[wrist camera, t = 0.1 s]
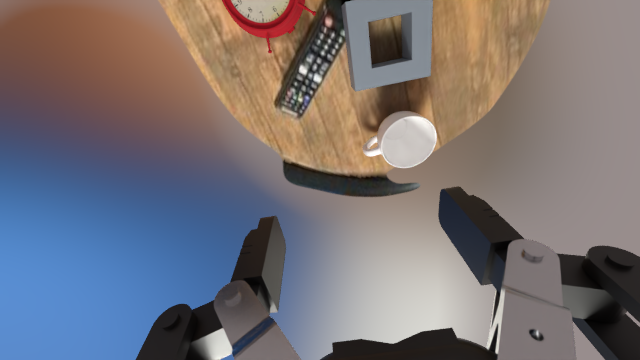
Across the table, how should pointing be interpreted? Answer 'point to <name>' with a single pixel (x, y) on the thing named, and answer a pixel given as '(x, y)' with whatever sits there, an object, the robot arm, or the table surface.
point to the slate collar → (416, 27)
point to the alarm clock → (266, 16)
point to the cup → (403, 139)
